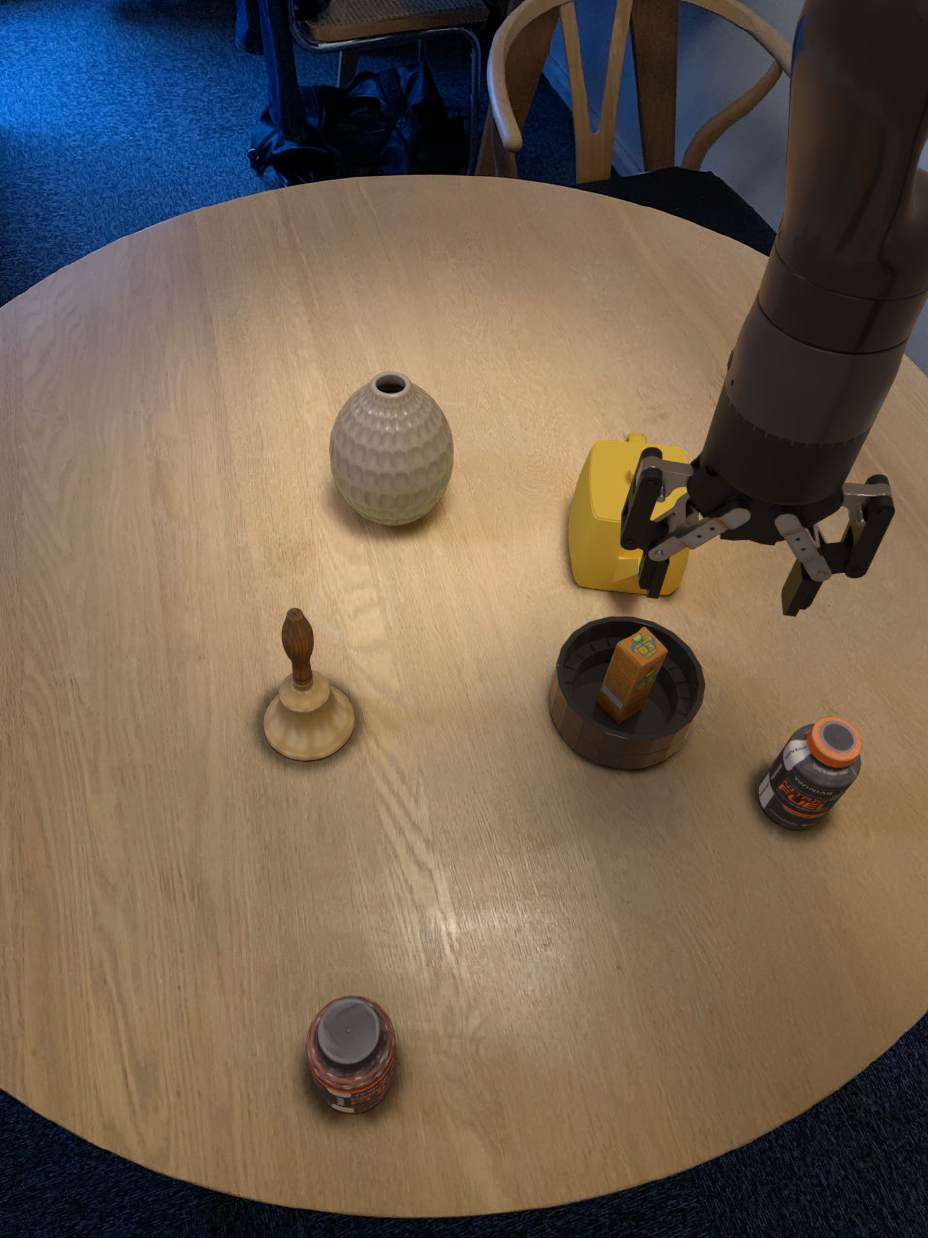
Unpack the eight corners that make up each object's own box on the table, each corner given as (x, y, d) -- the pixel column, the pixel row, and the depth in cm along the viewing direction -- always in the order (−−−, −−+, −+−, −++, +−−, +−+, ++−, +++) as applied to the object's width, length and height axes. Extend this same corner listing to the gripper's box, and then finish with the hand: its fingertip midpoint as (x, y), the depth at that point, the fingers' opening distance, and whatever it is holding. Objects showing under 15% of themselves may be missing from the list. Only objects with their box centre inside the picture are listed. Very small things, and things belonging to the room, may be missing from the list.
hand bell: (278, 677, 88) (256, 568, 76) (363, 691, 88) (356, 583, 75) (252, 753, 83) (224, 650, 71) (343, 768, 83) (331, 667, 70)
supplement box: (619, 728, 86) (641, 667, 78) (594, 702, 87) (613, 639, 79) (645, 710, 87) (669, 648, 79) (621, 685, 89) (642, 622, 81)
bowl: (717, 723, 88) (735, 688, 83) (615, 799, 82) (628, 767, 77) (620, 631, 94) (632, 594, 89) (520, 697, 88) (526, 661, 83)
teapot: (686, 634, 94) (717, 557, 84) (563, 622, 94) (580, 543, 84) (676, 492, 106) (702, 411, 96) (567, 482, 106) (583, 400, 97)
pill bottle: (752, 819, 82) (795, 756, 73) (761, 762, 85) (803, 696, 76) (821, 840, 81) (873, 780, 72) (827, 782, 84) (877, 717, 75)
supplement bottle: (359, 1135, 66) (351, 1104, 57) (297, 1078, 68) (280, 1040, 59) (413, 1062, 69) (413, 1022, 60) (351, 1010, 71) (343, 963, 62)
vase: (426, 453, 108) (428, 330, 94) (469, 531, 101) (478, 410, 87) (319, 480, 104) (306, 356, 91) (356, 562, 97) (347, 441, 84)
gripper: (658, 420, 44) (604, 629, 57) (963, 456, 44) (840, 659, 56) (658, 328, 49) (609, 540, 62) (935, 359, 48) (827, 567, 61)
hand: (719, 597), depth 59 cm, fingers open, 8 cm apart
